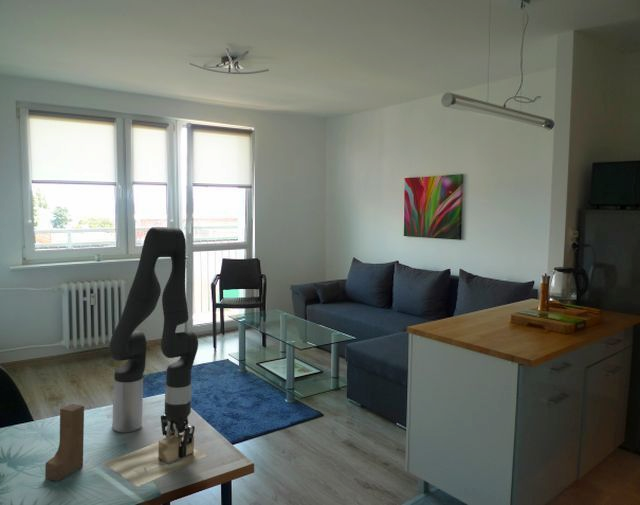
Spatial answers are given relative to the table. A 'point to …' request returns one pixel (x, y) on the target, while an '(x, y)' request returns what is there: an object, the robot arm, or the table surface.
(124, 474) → the board
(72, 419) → the wooden block
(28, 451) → the table surface
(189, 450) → the block
